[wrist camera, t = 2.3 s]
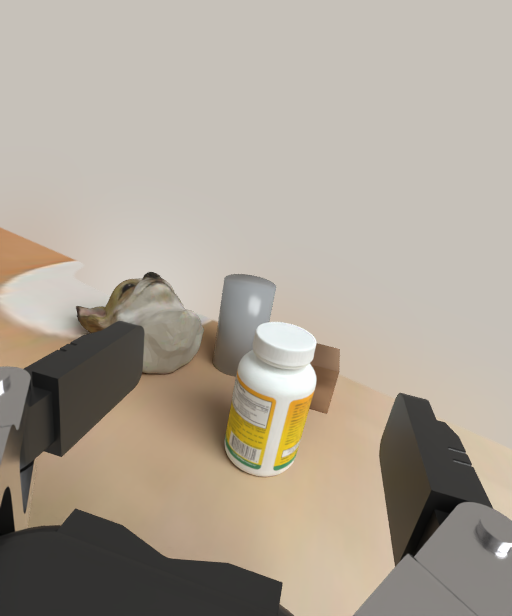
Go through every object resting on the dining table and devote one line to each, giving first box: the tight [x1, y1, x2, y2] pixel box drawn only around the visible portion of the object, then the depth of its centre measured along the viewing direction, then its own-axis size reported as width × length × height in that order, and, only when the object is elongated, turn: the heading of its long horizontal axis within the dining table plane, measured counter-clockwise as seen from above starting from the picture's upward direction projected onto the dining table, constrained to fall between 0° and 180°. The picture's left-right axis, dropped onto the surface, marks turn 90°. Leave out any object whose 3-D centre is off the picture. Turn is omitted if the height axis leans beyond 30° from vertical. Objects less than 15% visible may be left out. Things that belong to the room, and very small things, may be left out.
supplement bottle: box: [225, 322, 316, 477], centre depth 24 cm, size 5×5×10 cm
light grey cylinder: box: [213, 274, 276, 376], centre depth 35 cm, size 5×5×9 cm
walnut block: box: [309, 343, 340, 414], centre depth 33 cm, size 4×4×4 cm
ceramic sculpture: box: [76, 272, 204, 374], centre depth 35 cm, size 11×9×15 cm
